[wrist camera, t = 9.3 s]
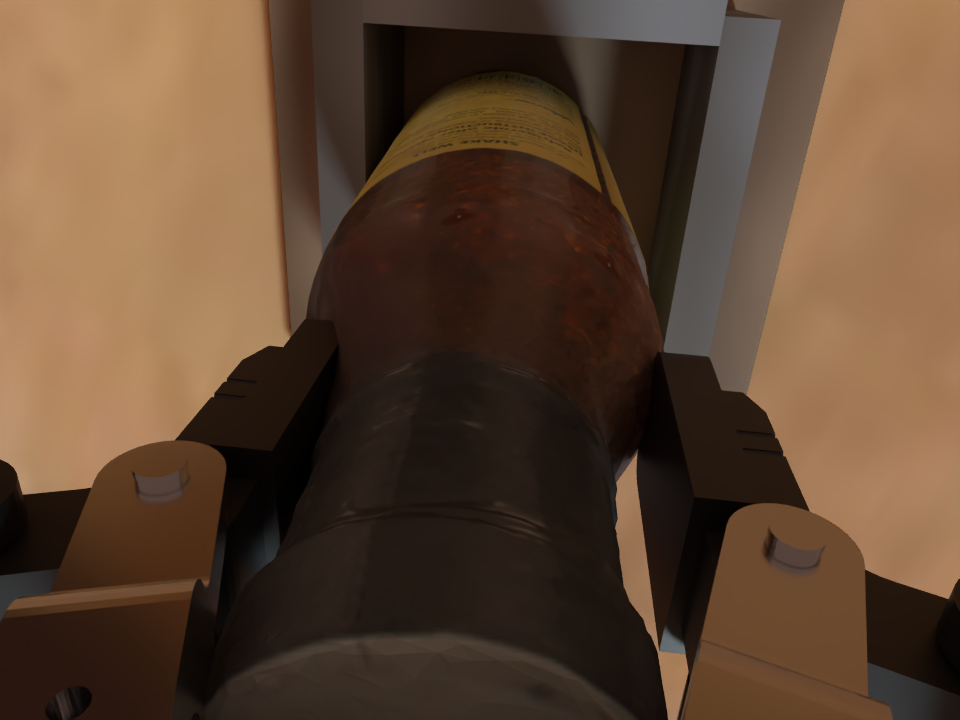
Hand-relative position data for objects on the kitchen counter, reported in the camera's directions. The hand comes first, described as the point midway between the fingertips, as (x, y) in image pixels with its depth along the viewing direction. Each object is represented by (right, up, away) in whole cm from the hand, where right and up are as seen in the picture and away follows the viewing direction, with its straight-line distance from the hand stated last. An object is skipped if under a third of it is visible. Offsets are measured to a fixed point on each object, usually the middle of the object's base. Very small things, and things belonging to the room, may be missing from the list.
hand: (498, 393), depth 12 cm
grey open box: (+1, +7, +13) cm, 15 cm away
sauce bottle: (+1, +6, +12) cm, 14 cm away
